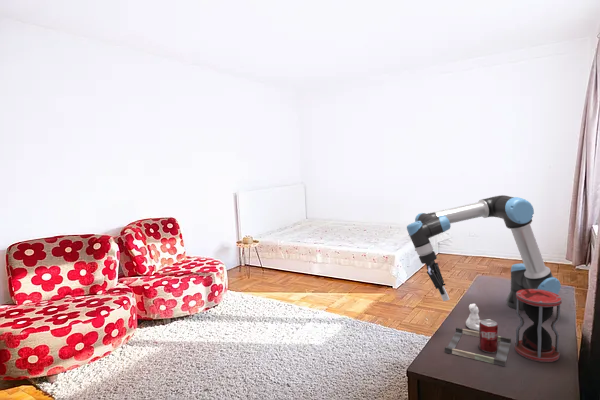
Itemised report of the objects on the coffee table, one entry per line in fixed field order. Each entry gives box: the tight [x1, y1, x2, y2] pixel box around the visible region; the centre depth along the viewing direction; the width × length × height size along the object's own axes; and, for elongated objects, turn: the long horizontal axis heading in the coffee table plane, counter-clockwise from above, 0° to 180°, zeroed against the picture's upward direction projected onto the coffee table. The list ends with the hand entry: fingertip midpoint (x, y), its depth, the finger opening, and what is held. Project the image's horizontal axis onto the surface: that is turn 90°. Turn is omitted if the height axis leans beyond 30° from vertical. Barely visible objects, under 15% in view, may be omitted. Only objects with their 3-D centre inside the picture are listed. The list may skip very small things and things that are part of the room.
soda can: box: [478, 318, 499, 354], centre depth 168 cm, size 7×7×12 cm
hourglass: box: [514, 289, 563, 363], centre depth 163 cm, size 16×16×25 cm
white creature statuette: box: [465, 303, 482, 332], centre depth 188 cm, size 10×9×12 cm
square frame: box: [444, 327, 512, 367], centre depth 170 cm, size 22×23×2 cm
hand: (446, 299), depth 183 cm, fingers closed
